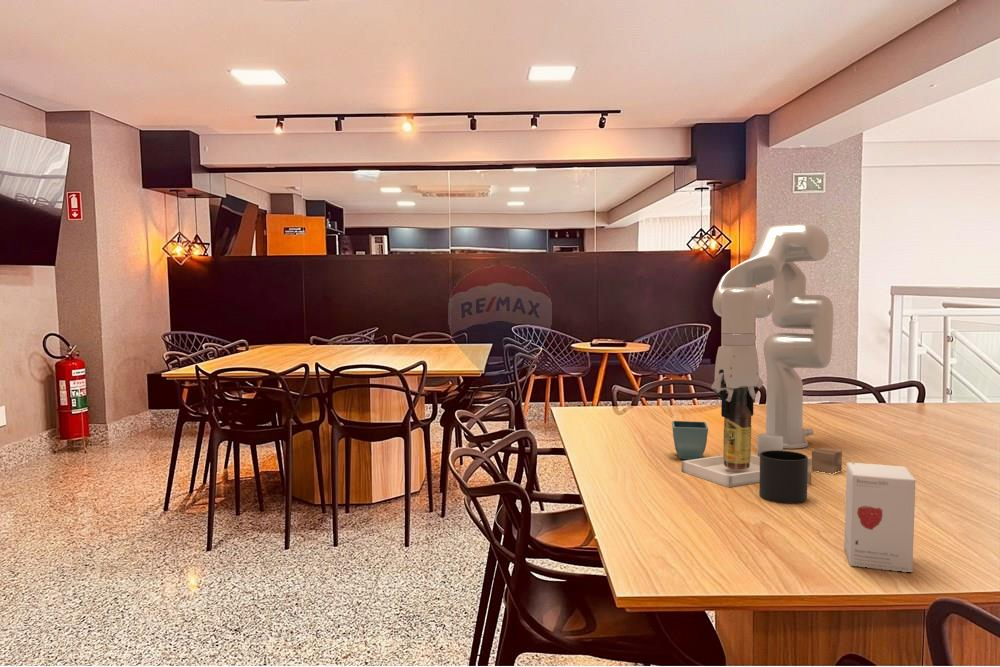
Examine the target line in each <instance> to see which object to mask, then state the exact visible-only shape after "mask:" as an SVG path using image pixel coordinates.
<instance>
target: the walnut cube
mask: <svg viewBox="0 0 1000 667" xmlns="http://www.w3.org/2000/svg"><path fill="white" fill-rule="evenodd" d="M811 458H812V468H811V471H812V470H813V471H812V472H814V471H819V472H825V473H831V474H833V473H835V472H838V471H841V470H842V469H843V451H842V450H835V449H830V448H825V447H824V448H823V447H820V448H818V449H817V448H816V449H813V450H812V451H811ZM842 471H843V470H842ZM842 471H841V472H842ZM819 472H818V473H819Z"/></svg>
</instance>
